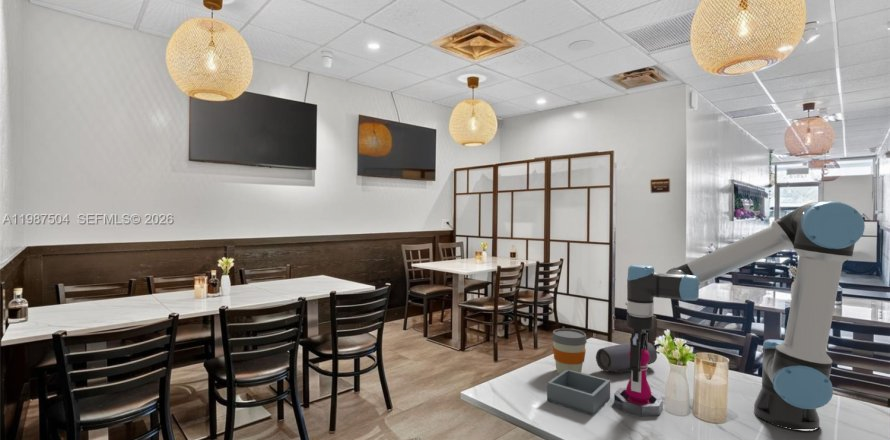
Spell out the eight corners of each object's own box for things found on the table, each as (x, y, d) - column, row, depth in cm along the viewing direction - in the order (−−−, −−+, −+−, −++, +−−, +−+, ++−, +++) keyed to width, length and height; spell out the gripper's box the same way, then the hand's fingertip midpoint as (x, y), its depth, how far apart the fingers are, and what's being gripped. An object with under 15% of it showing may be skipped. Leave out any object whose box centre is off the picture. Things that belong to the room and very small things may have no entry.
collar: (665, 404, 134) (665, 395, 134) (655, 420, 124) (655, 410, 124) (623, 393, 142) (623, 384, 142) (610, 407, 132) (610, 397, 132)
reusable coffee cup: (589, 370, 162) (590, 331, 162) (581, 381, 151) (582, 340, 151) (556, 363, 169) (557, 326, 168) (547, 374, 158) (548, 334, 157)
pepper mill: (645, 400, 136) (646, 339, 136) (655, 411, 129) (656, 346, 129) (622, 400, 137) (623, 339, 136) (631, 410, 129) (632, 346, 129)
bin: (610, 398, 138) (610, 380, 138) (593, 415, 126) (593, 396, 126) (566, 386, 148) (566, 369, 147) (547, 400, 136) (547, 382, 136)
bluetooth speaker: (612, 378, 154) (612, 351, 154) (594, 369, 163) (595, 344, 163) (658, 370, 163) (658, 344, 163) (638, 361, 172) (639, 337, 171)
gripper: (634, 307, 142) (633, 374, 143) (619, 319, 127) (617, 394, 127) (659, 310, 138) (658, 380, 138) (646, 323, 122) (644, 401, 123)
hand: (638, 387), depth 133 cm, fingers closed on pepper mill, 6 cm apart
